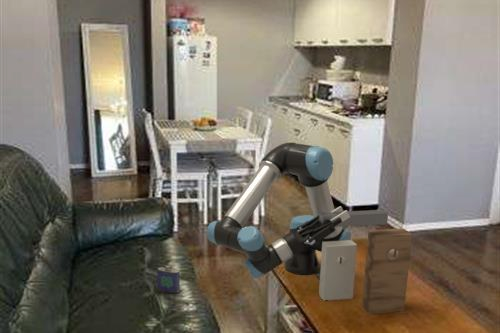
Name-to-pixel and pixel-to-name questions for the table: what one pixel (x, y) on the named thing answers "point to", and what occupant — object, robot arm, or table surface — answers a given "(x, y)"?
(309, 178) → the robot arm
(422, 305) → the table surface
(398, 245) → the tall cabinet
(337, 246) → the cream rectangular box
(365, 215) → the grey square bar
